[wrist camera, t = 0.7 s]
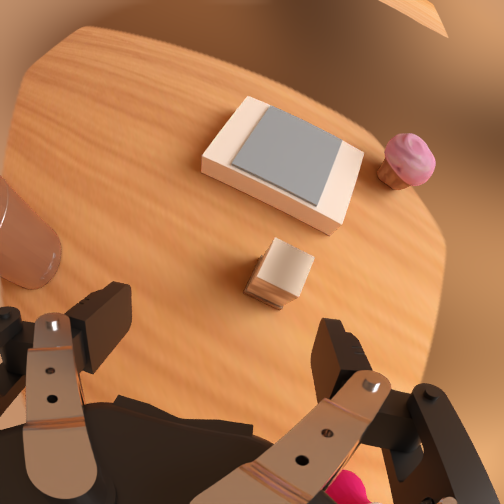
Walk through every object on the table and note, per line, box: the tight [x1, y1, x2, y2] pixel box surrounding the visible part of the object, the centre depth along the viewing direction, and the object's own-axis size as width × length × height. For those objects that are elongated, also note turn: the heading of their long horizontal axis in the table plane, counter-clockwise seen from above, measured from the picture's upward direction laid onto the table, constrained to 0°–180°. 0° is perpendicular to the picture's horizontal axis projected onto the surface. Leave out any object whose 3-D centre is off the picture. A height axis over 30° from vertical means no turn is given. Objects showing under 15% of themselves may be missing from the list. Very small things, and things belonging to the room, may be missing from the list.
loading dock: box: [201, 96, 364, 236], centre depth 41 cm, size 20×14×4 cm
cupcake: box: [377, 133, 435, 190], centre depth 42 cm, size 9×9×10 cm
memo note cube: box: [243, 237, 315, 310], centre depth 34 cm, size 5×5×8 cm
